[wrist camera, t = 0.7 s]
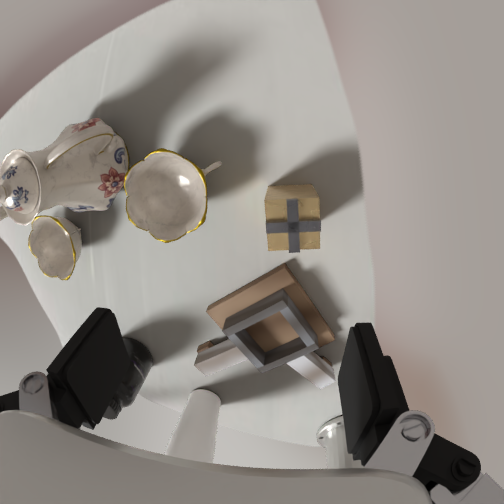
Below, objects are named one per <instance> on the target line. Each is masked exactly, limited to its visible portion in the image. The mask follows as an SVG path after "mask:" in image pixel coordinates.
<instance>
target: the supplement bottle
mask: <svg viewBox="0 0 504 504" xmlns="http://www.w3.org/2000/svg"><path fill="white" fill-rule="evenodd" d="M123 341H124V344H125V347H126V350H127V353H128V355H129V358H130V366H129V368H128V370H127V372H126V374H125V376H124V377H123V379H122V381H121V383H120V385H119V387H118V389H117V390H116V392H115V394H114V396H113V398H112V400H111V402H110V404H109V406H108V408H107V410H106V411H105V413H104V415H103V417H104V418H107V419H115V418H117V416H118V414H119V412H121V410H122V408H123V407H127V406H130V405H131V404H132V403H133V402H134V400H135V398H136V396H137V394H138V392H139V390H140V388H141V386H142V385H143V383H144V381H145V379H146V377H147V375H148V373H149V371H150V369H151V367H152V364H153V359H152V356H151V354H150V352H149V350H148V349H147V348H146V347H145V346H144V345H143V344H141V343H140V342H138V341H136V340H134V339H131V338H123Z"/></svg>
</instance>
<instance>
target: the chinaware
mask: <svg viewBox="0 0 504 504" xmlns="http://www.w3.org/2000/svg"><path fill="white" fill-rule="evenodd" d="M221 165H222V163H221V161H217V162H215V163H213V164H211V165H210V166H208V167H207V168H206V169H200V168H199V167H198V166H197V165H196V164H194V163H193V162H191V161H190V160H188V159H187V158H184V157H183V156H181V155H179V154H177V153H175V152H173V151H170V150H167V149H164V148H160V149H157V150H156V151H153V152H151V153H149V154H148V155H147V156H146V157H145V158H144V160H141V161H139V162H137V163H136V164H134V165H133V166H132V167H131V168H130V169H129V154H128V150H127V147H126V145H125V143H124V141H123V139H122V138H121V137H120V136H119V135H118V134H117V133H116V132H114V131H113V129H112V128H111V127H110V126H108V125H106V124H105V123H104V122H103V121H102V120H101V119H100V118H93V119H90V120H88V121H85V122H82V123H78V124H71V125H69V126H67V127H66V128H65V129H64V130H63V131H62V132H61V134H60V135H59V137H58V138H57V139H56V140H55V141H54V142H53V143H52V144H51V145H49V146H48V147H46V148H45V149H43V150H39V151H34V152H24V151H23V150H21V149H19V150H12V151H11V152H10V153H8V154H7V155H6V156H5V158H4V160H3V162H2V164H1V166H0V203H2V206H1V207H0V221H1V220H2V219H4V218H6V217H10V218H11V219H12V220H13V221H14V222H15V223H16V224H21V225H27V224H28V223H31V222H32V231H31V233H30V235H29V243H28V246H29V248H30V250H31V253H32V254H33V255H34V256H35V257H36V258H38V263H39V267H40V269H41V270H42V272H43V273H44V274H45V275H47V276H49V277H58V278H60V279H61V280H68V279H69V278H70V276H71V275H72V273H73V270H74V267H75V263H76V262H77V260H78V258H79V256H80V253H81V242H83V241H82V239H81V232H80V231H81V229H79V228H78V227H77V226H76V225H74V224H73V223H72V221H71V222H70V221H69V220H67V219H65V218H62V217H52V216H36V215H38V214H39V213H40V212H41V211H43V210H47V209H50V208H52V207H54V206H56V205H62V206H65V207H67V208H69V209H71V210H72V211H74V212H85V211H91V210H98V211H104V210H107V209H108V208H109V207H110V206H111V204H112V202H113V200H114V198H115V197H116V195H117V193H118V192H119V190H120V189H121V188H122V186H123V185H124V189H125V192H126V195H127V196H128V197H127V199H126V211H127V214H128V218H129V220H130V221H131V222H132V223H133V224H134V225H135V226H136V227H138V228H140V229H143V230H145V231H148V230H149V233H150V234H151V235H152V236H153V237H154V238H155V239H157V240H160V241H162V242H165V243H169V242H171V241H175V240H178V239H179V238H181V237H182V236H184V235H186V233H187V232H188V233H189V232H192V231H194V230H196V229H197V228H198V227H199V226H200V225H202V224H203V223H204V222H205V220H206V213H207V184H206V180H205V176H206V175H207V174H208V173H209V172H211V171H212V170H215V169H216V168H218V167H220V166H221Z"/></svg>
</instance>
